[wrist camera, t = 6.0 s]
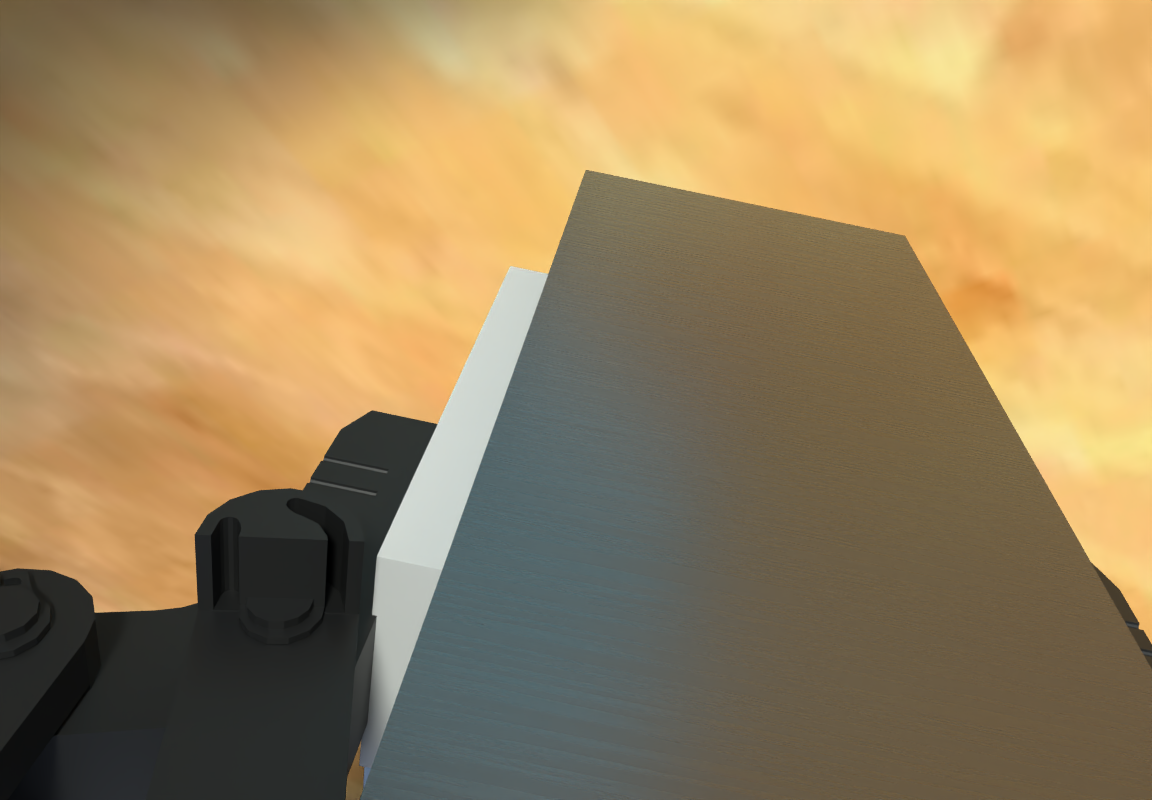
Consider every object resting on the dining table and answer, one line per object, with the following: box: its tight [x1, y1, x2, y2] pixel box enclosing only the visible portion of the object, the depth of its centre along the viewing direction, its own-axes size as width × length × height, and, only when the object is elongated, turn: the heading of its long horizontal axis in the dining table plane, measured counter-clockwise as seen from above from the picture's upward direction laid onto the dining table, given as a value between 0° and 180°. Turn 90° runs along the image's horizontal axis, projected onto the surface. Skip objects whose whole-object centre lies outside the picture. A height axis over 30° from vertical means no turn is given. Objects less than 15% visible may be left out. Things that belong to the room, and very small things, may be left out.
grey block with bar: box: [360, 170, 1152, 800], centre depth 11 cm, size 8×12×12 cm
